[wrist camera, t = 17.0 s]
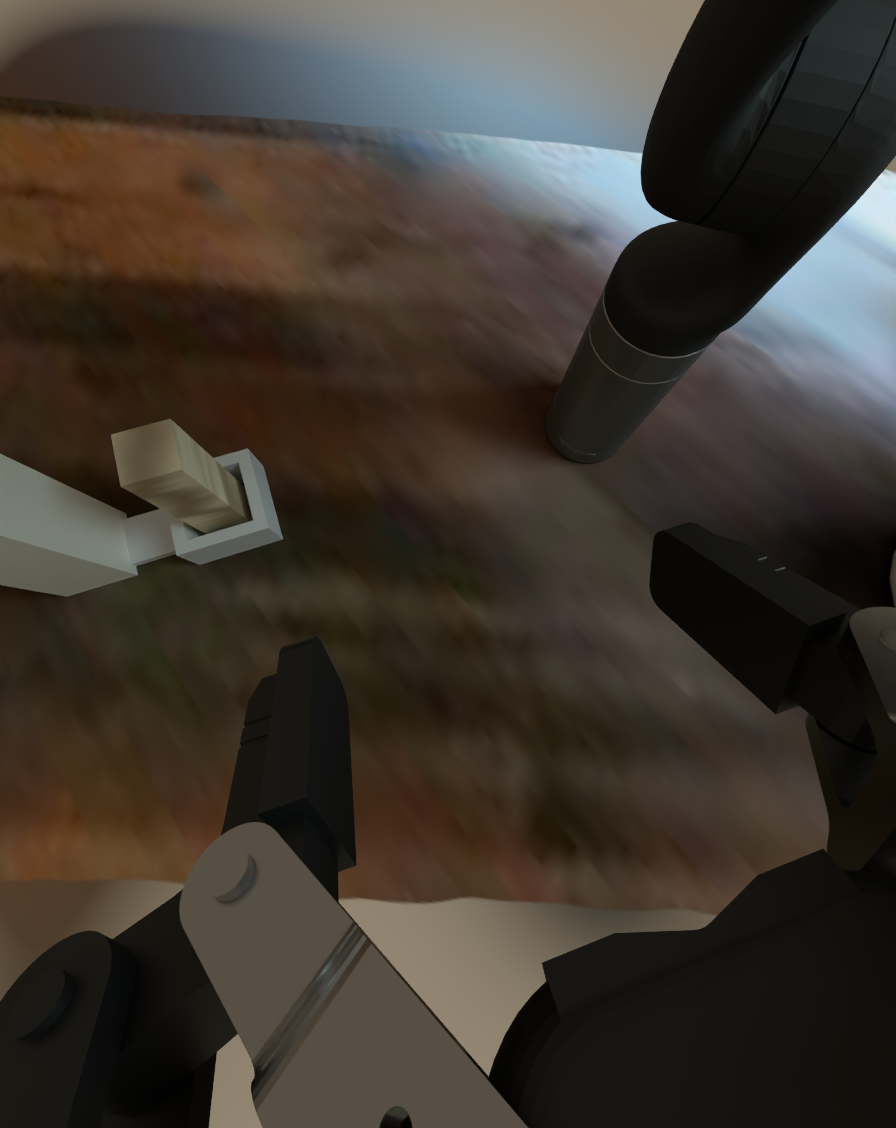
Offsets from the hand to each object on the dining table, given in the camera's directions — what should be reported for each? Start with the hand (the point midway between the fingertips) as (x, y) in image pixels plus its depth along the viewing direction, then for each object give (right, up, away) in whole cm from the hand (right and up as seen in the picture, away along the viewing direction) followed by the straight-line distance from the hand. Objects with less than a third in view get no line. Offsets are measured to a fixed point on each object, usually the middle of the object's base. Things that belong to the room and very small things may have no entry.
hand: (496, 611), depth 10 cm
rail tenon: (-24, +6, +35) cm, 43 cm away
